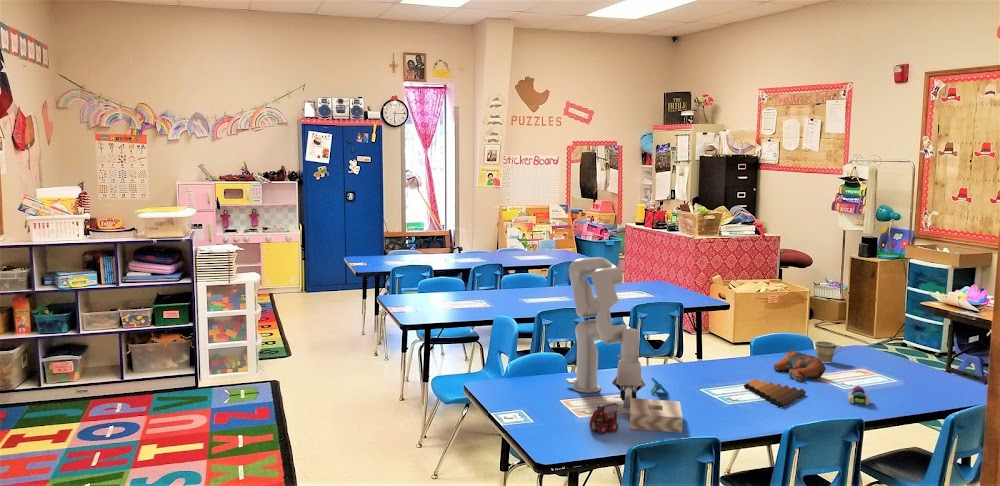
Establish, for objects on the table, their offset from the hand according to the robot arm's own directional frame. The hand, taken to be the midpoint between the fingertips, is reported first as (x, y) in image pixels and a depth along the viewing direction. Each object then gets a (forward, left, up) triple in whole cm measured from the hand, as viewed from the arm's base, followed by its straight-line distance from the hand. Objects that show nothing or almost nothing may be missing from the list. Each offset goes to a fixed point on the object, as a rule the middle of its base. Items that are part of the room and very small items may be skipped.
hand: (628, 399), depth 327 cm
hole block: (+11, -16, -3) cm, 20 cm away
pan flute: (+61, +31, -4) cm, 69 cm away
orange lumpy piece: (+81, +70, -4) cm, 107 cm away
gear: (+14, +22, -4) cm, 26 cm away
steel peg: (0, 0, -3) cm, 3 cm away
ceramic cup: (+102, +97, -3) cm, 141 cm away
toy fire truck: (-9, -30, -4) cm, 32 cm away
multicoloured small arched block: (+99, +29, -4) cm, 104 cm away
